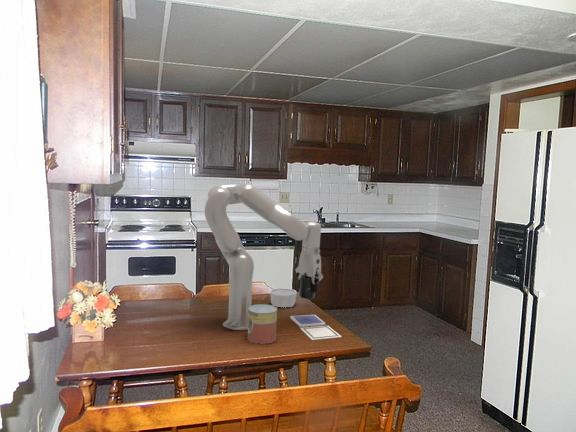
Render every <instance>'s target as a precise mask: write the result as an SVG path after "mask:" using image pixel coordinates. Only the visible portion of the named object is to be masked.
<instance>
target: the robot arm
mask: <svg viewBox="0 0 576 432" xmlns="http://www.w3.org/2000/svg"><path fill="white" fill-rule="evenodd" d="M235 204H243V205H244V206H245V207H248V208H249V209H250V210H251V211H252V212H254V213H255V214H257V215H258V216H259V217H261V218H262V219H264V221H267V222H268V223H270V224H273V225H274V226H276V227H278V228H279V229H280V230H282V231H283V232H284V233H285V234H286V235H287V236H288V237H290V238H291V239H294V240H295V241H302V245H301V246H302V247H301V252H300V256H299V261H298V266H297V267H296V268H295V269H294V270H295V273H296V275H297V279H298V289H299V290H300V281H301V277H302V276H303V275H304V273H305V272H306V274H307V275H306V276H308V277H311V279H312V283H313V284H311V293H317V292H318V284H319V282H321V280H322V279H323V278H324V275H323V273H322V259H321V258H322V257H321V254H320V253H321V249H320V247H321V233H322V232H321V231H322V226H321V223H320V222H315V221H301V220H300V219H299V218H297V217H295V216H294V215H293V214H292V213H290V212H289V211H287V210H286V209H285V208H284V207H282V206H281V205H280V204H279V203H277V202H276V201H275V200H273V199H272V198H270V197H269V196H268V195H267V194H266V193H264V192H263V191H262V190H260V189H258V187H256V186H255V185H253V184H251V183H247V182H244V183H243V182H241V183H235V184H224V185H216V186H212V187H211V188H210V189H209V191H208V194H207V200H206V202H205V205H204V217H205V220H206V222H207V225H208V227H209V228H210V230H211V232H212V234H213V237H214V238H215V242H216V244H217V246H218V248H219V250H220V252H221V254H222V256H223V257H224V260H226V263H227V265H228V266H229V268H230V269H229V270H230V271H229V283H228V284H229V285H228V316H227V319H226V320H225V321H224V322H222V326H223V327H224V328H225V329H228V330H233V331H248V311H249V310H248V308H249V307H250V306H252V302H253V300H252V296H253V294H252V293H253V277H254V269H255V268H254V266H255V265H254V263H255V262H254V260H253V259H254V258H252V256H251V255H250V253H248V252H247V250H246V248H245V246H244V244H243V242H242V241H241V238H240V235H239V234H238V232H237V230H236V229H235V228H234V226H233V224H232V222H231V219H230V218H229V216H228V214H227V207H228V205H235ZM314 278H315V280H314Z"/></svg>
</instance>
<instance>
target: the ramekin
mask: <svg viewBox="0 0 576 432" xmlns="http://www.w3.org/2000/svg"><path fill="white" fill-rule="evenodd" d="M297 294H298V292H297V291H296V290H295V289H292V288H287V287H280V288H279V287H278V288H273V289H270V292H269V295H270V303H271V305H272V306H276V308H278V307H281V308H280V309H287V308H286V307H290V308H292V307H294V305H295V303H296V299H297ZM282 307H283V308H282ZM284 307H285V308H284Z"/></svg>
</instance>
